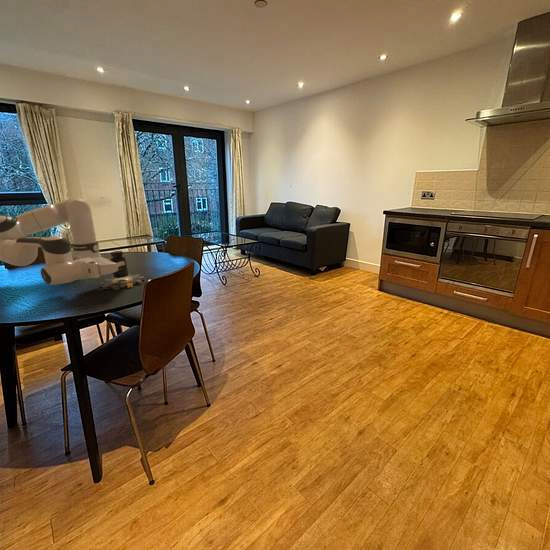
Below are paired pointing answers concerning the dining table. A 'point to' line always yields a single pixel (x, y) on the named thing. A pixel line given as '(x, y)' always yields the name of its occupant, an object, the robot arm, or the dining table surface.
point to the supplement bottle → (122, 269)
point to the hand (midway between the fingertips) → (120, 261)
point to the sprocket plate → (122, 282)
